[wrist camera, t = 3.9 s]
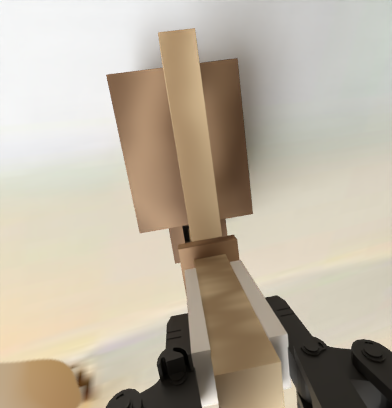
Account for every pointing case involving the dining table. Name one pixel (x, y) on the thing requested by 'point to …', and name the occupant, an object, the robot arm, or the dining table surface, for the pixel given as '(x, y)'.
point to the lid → (183, 141)
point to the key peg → (233, 328)
